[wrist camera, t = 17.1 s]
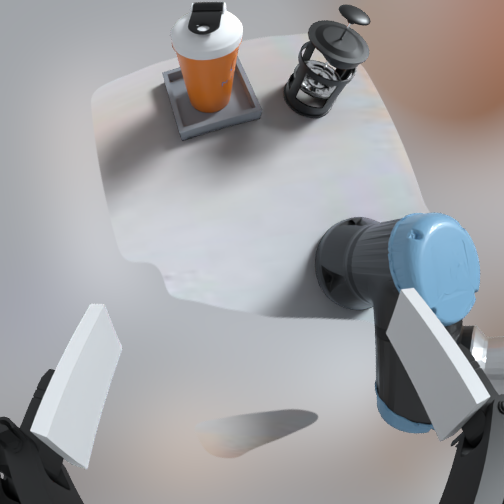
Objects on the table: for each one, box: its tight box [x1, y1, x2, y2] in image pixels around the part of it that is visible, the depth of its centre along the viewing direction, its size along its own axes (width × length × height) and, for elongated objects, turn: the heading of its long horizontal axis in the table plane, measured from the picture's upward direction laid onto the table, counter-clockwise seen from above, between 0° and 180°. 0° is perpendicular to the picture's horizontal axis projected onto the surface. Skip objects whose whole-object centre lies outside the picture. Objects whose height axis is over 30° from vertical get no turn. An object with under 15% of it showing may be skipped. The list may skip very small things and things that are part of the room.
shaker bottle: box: [171, 2, 243, 113], centre depth 33 cm, size 9×9×20 cm
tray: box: [162, 56, 262, 141], centre depth 42 cm, size 14×14×3 cm
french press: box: [284, 5, 370, 118], centre depth 34 cm, size 12×9×23 cm
